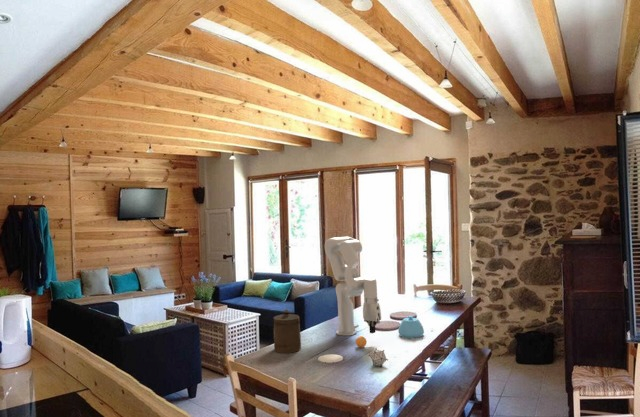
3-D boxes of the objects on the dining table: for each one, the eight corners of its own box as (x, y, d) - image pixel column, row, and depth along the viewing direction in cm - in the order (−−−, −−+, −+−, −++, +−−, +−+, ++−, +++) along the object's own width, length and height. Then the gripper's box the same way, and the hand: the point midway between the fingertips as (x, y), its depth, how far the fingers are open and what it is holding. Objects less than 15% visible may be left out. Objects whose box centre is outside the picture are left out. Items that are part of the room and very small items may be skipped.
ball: (360, 345, 273) (360, 334, 273) (368, 347, 269) (368, 336, 269) (353, 347, 269) (353, 336, 269) (362, 349, 264) (361, 338, 264)
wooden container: (287, 344, 280) (285, 306, 280) (306, 348, 271) (305, 309, 271) (268, 350, 269) (267, 311, 269) (288, 355, 259) (286, 314, 259)
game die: (378, 374, 236) (369, 361, 231) (371, 363, 243) (363, 350, 239) (393, 364, 236) (385, 351, 232) (386, 353, 244) (378, 340, 239)
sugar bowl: (424, 339, 281) (423, 319, 280) (398, 338, 284) (397, 319, 283) (423, 332, 295) (423, 313, 295) (399, 331, 298) (398, 313, 298)
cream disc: (330, 353, 260) (329, 352, 260) (348, 358, 251) (348, 357, 251) (312, 359, 251) (312, 358, 251) (331, 364, 242) (331, 364, 242)
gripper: (385, 300, 272) (387, 333, 272) (364, 298, 283) (366, 329, 282) (377, 302, 267) (379, 335, 267) (356, 300, 278) (358, 332, 277)
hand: (372, 332), depth 275 cm, fingers closed
